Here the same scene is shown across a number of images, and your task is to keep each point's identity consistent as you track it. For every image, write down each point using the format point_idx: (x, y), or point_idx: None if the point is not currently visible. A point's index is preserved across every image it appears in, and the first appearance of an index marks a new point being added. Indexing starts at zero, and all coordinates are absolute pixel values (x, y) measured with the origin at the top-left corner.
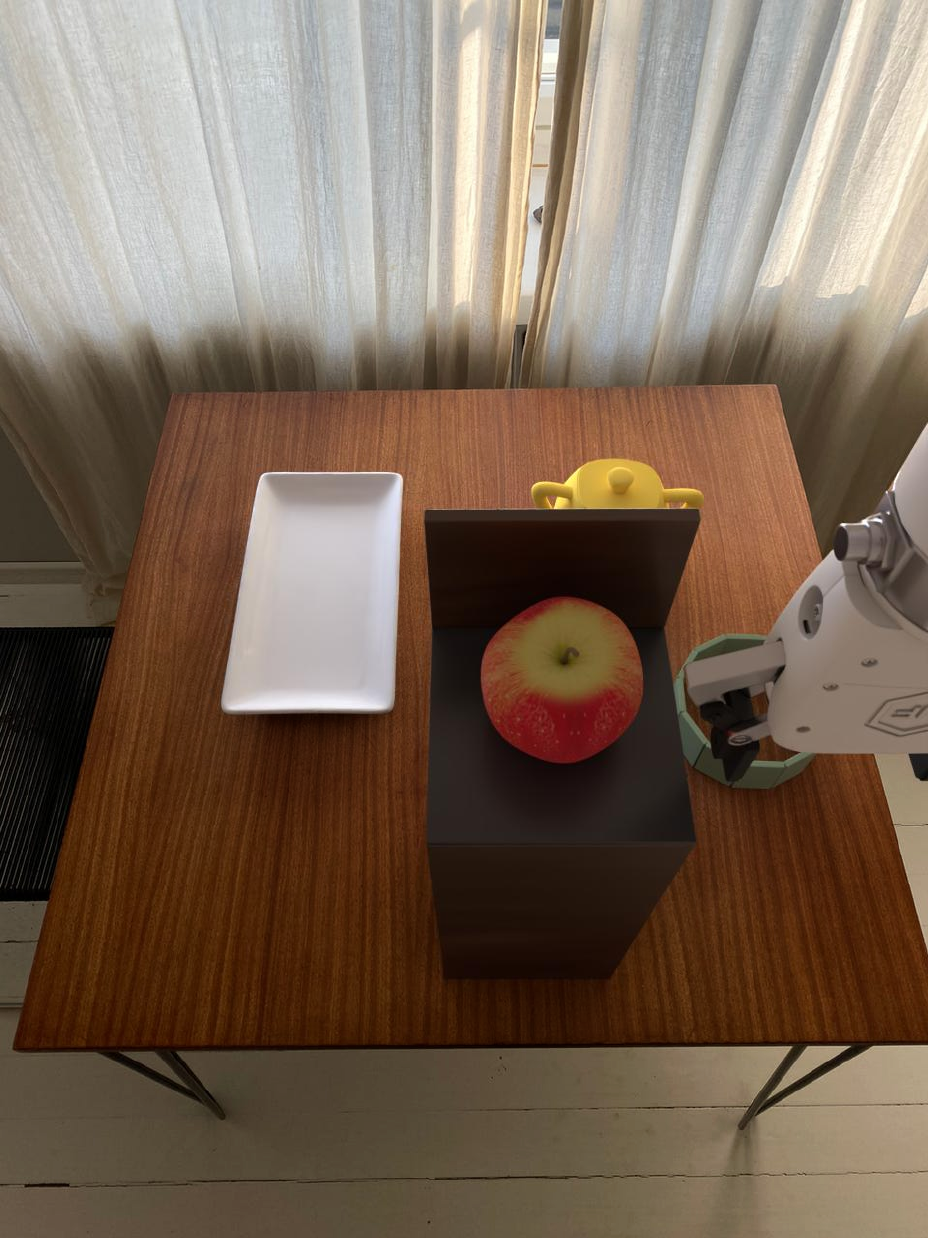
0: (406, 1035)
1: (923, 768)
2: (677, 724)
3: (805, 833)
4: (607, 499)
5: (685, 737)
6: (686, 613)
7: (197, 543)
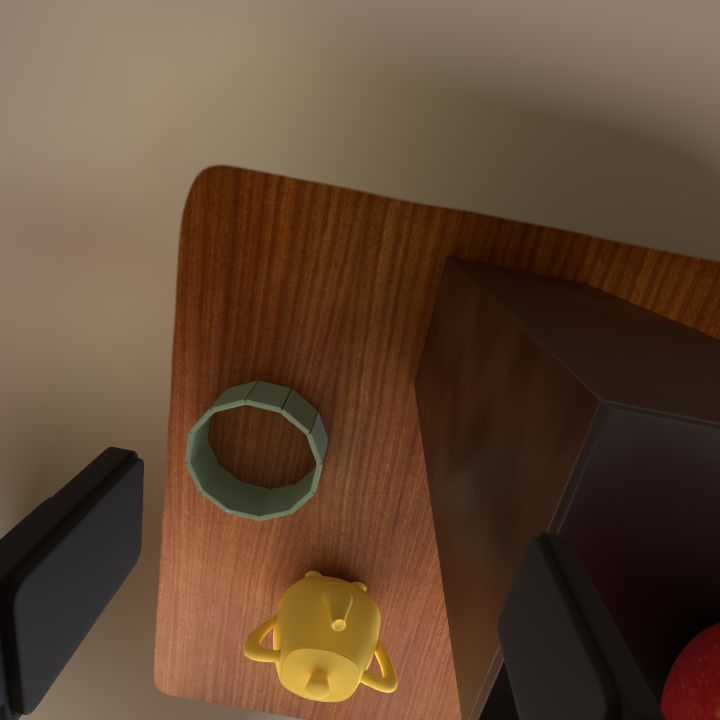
0: (635, 245)
1: (119, 489)
2: None
3: (240, 338)
4: (333, 667)
5: (320, 439)
6: (280, 533)
7: None
